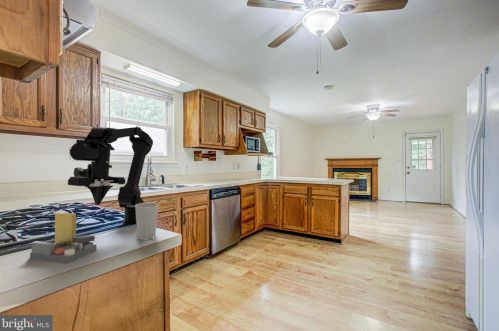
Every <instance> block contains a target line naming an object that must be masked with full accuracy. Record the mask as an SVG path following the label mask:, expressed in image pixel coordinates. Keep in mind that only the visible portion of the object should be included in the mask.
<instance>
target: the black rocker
mask: <svg viewBox="0 0 499 331" xmlns="http://www.w3.org/2000/svg"><path fill="white" fill-rule="evenodd" d="M95 239H96V237H95V235H90V234H89V235H88V234H86V235H85V234H84V235H80V236H79V235H78V236H76V237H73V238H72V242H73V243H86V242H94V241H95Z"/></svg>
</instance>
